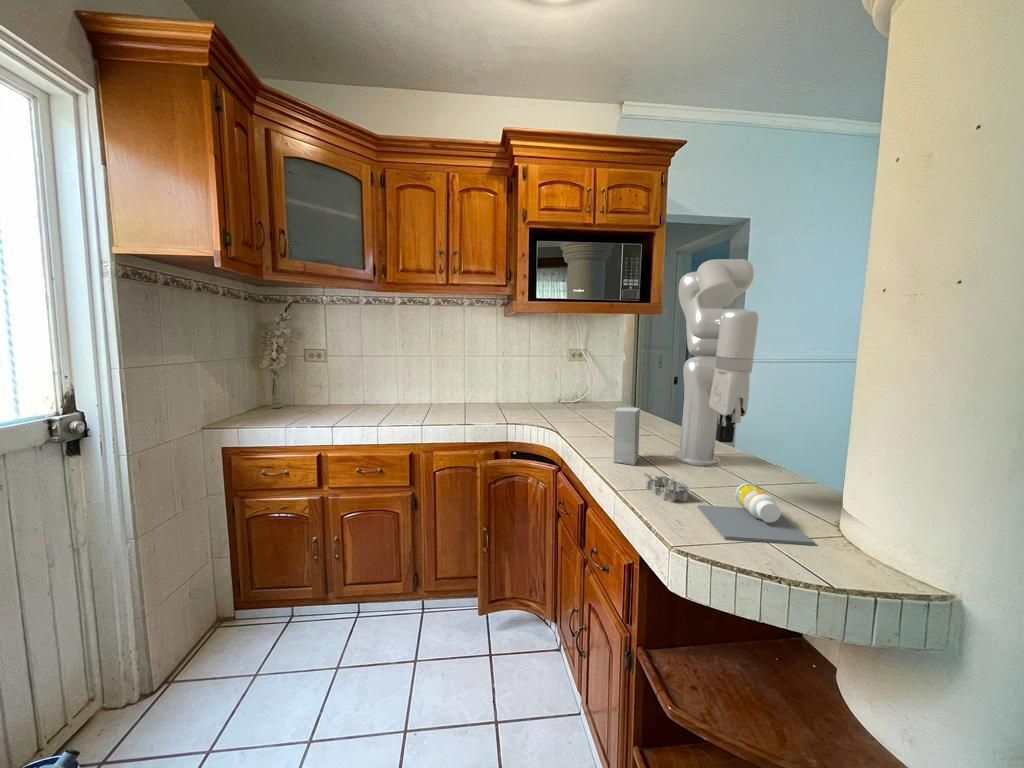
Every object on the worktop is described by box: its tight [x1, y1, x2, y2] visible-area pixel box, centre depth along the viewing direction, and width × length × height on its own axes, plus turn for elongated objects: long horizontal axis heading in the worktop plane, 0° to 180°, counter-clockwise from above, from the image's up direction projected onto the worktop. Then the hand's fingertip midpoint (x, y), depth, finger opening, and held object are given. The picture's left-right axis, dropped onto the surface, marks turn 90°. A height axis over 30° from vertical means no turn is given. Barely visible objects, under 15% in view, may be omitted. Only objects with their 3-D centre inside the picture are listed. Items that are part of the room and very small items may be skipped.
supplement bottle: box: [735, 483, 782, 522], centre depth 86 cm, size 5×5×10 cm
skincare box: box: [612, 406, 641, 466], centre depth 122 cm, size 8×7×16 cm
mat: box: [697, 504, 816, 546], centre depth 83 cm, size 14×16×1 cm
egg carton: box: [643, 472, 692, 503], centre depth 98 cm, size 10×7×4 cm
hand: (724, 441), depth 98 cm, fingers closed
